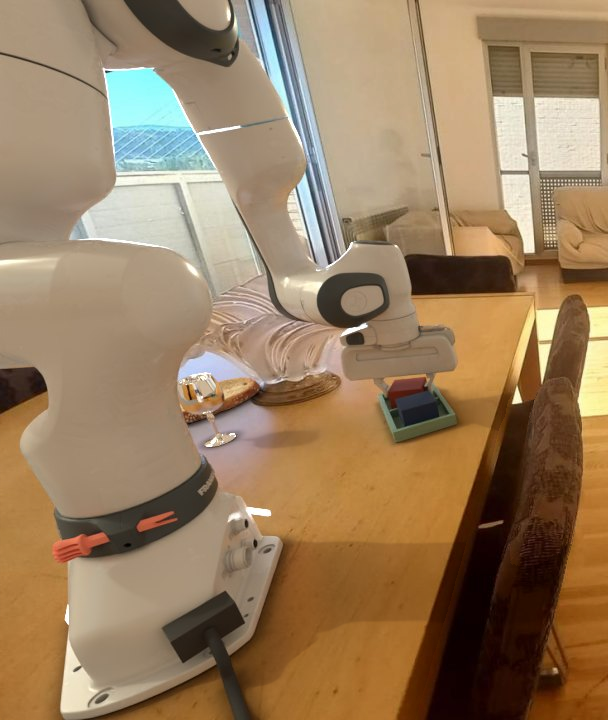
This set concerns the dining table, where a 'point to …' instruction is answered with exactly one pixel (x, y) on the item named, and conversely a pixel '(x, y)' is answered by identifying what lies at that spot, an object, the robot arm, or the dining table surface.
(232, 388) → the slice of bread
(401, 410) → the pad
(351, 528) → the dining table surface
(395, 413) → the tray rib
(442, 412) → the tray
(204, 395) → the wineglass
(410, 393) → the red block
